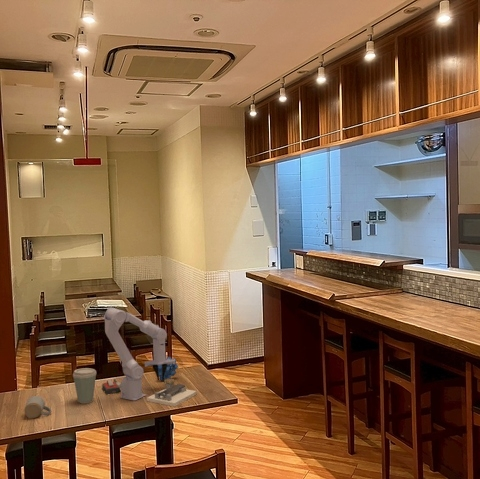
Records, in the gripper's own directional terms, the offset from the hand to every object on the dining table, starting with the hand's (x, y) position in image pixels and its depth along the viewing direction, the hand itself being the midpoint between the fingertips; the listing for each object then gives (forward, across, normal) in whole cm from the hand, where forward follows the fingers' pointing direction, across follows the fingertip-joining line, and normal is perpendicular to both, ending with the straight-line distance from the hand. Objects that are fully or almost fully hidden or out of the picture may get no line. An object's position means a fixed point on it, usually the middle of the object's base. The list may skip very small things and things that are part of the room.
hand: (160, 379), depth 251 cm
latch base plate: (+5, +5, -13) cm, 14 cm away
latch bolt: (0, +4, -4) cm, 6 cm away
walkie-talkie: (+6, -24, +9) cm, 27 cm away
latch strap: (+2, +5, -12) cm, 14 cm away
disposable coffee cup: (+5, -34, -7) cm, 36 cm away
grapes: (+5, +3, +15) cm, 16 cm away
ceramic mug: (+5, -53, -19) cm, 57 cm away
